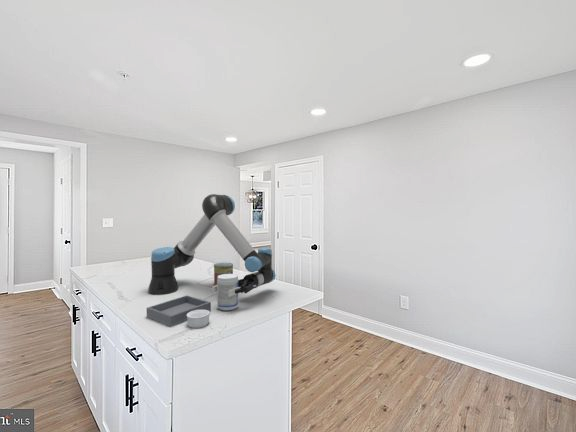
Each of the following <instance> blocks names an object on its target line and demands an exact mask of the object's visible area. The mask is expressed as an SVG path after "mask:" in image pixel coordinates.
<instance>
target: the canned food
mask: <svg viewBox="0 0 576 432" xmlns="http://www.w3.org/2000/svg"><path fill="white" fill-rule="evenodd" d="M222 274H234V263H232V262H219V263H218V262H217V263H214V264H213V276H214V278H213V285H214V286H216V285H217V277H218V276H219V275H222Z"/></svg>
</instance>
